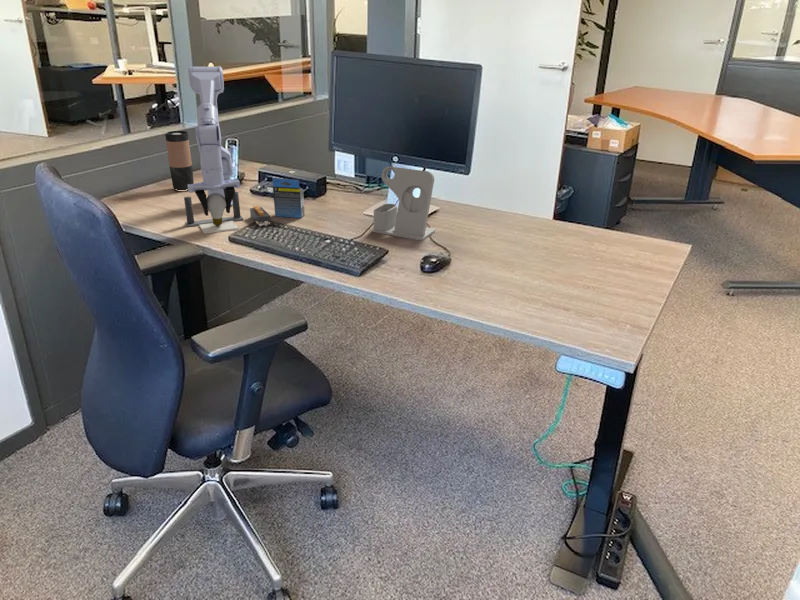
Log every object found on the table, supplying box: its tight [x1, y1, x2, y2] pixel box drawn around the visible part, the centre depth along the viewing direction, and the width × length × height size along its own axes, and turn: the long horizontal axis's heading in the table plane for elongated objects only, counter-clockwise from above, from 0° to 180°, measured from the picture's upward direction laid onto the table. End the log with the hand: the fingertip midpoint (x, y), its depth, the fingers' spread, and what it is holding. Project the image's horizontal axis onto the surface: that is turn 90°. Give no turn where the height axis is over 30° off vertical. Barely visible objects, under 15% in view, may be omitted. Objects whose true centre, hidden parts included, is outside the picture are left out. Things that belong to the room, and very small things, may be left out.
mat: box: [199, 221, 239, 235], centre depth 187 cm, size 8×10×1 cm
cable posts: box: [183, 191, 244, 228], centre depth 190 cm, size 3×17×8 cm, turn 117°
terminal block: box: [249, 205, 272, 223], centre depth 192 cm, size 10×4×4 cm, turn 27°
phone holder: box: [371, 166, 436, 241], centre depth 183 cm, size 17×10×18 cm, turn 64°
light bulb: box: [206, 193, 226, 226], centre depth 185 cm, size 6×6×10 cm
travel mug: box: [164, 130, 195, 190], centre depth 221 cm, size 8×8×20 cm
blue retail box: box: [271, 177, 305, 219], centre depth 196 cm, size 9×4×12 cm, turn 80°
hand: (217, 213), depth 185 cm, fingers closed on light bulb, 6 cm apart
